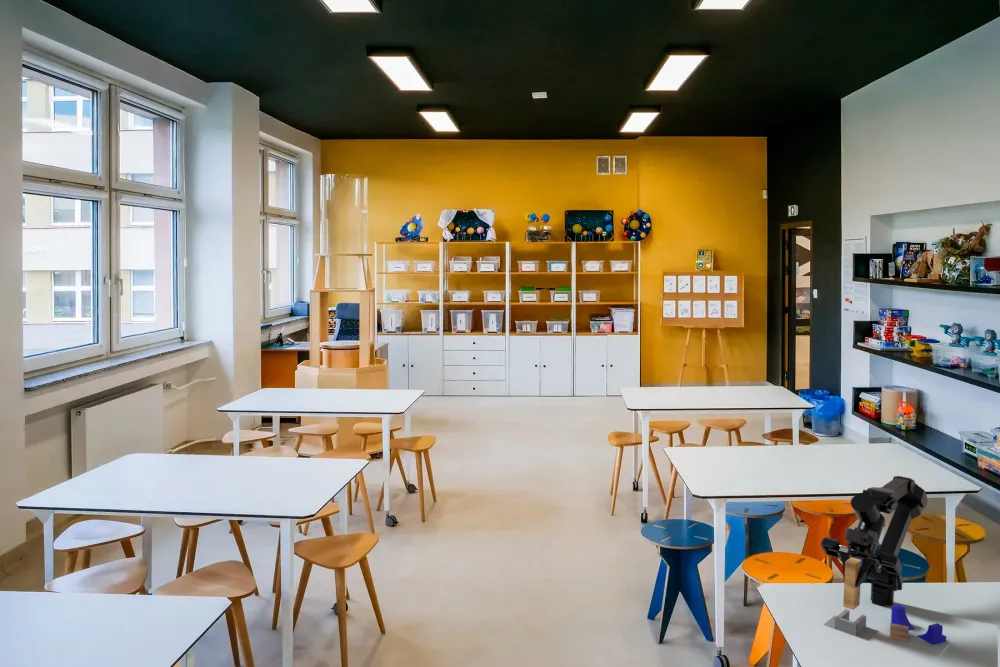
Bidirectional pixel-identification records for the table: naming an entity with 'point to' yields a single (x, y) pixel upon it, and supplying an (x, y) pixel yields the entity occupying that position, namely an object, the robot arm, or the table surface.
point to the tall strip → (851, 583)
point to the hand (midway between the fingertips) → (850, 584)
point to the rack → (851, 625)
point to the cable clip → (900, 618)
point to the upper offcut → (899, 632)
